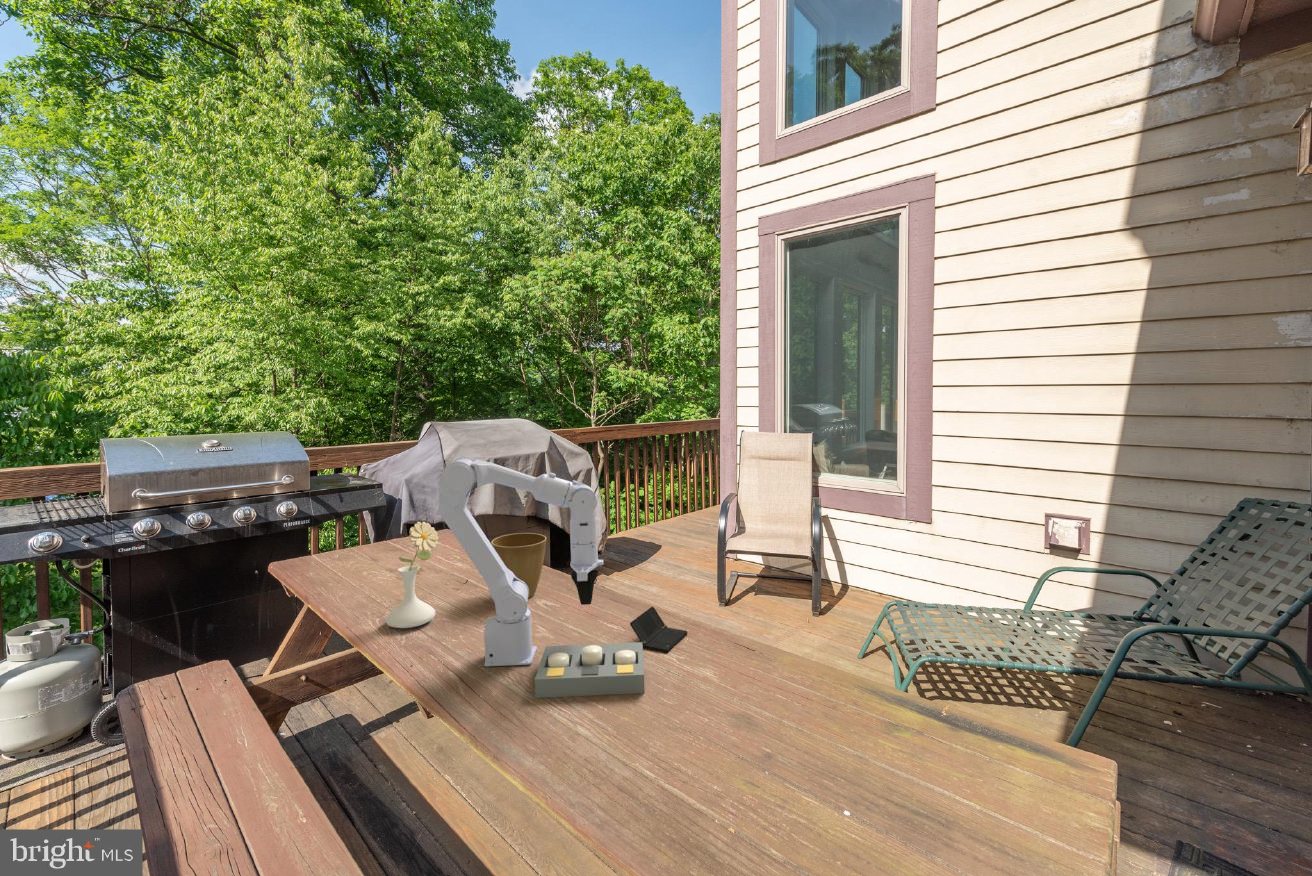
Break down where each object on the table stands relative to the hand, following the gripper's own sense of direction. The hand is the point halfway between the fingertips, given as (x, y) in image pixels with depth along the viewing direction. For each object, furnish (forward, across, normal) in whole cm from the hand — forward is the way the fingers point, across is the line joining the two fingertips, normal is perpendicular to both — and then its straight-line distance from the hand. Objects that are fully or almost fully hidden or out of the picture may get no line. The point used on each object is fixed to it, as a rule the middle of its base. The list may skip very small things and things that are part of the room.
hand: (586, 603), depth 123 cm
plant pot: (+10, +37, +21) cm, 44 cm away
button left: (+9, -12, +5) cm, 16 cm away
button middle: (+8, -12, -2) cm, 14 cm away
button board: (+10, -12, -2) cm, 16 cm away
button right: (+9, -12, -8) cm, 17 cm away
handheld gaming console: (+11, +4, -16) cm, 20 cm away
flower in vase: (+10, +20, +44) cm, 50 cm away
